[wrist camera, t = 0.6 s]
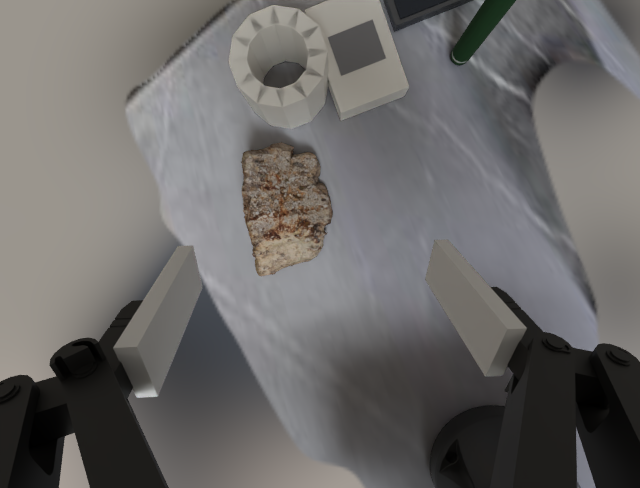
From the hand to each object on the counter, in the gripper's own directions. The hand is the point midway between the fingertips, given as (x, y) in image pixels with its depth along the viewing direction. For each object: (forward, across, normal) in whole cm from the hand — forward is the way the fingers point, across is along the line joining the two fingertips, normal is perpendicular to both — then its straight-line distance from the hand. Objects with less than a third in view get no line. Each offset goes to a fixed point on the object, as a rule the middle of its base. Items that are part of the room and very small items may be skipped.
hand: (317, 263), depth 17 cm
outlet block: (+27, -2, -9) cm, 29 cm away
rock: (+21, +2, +6) cm, 22 cm away
